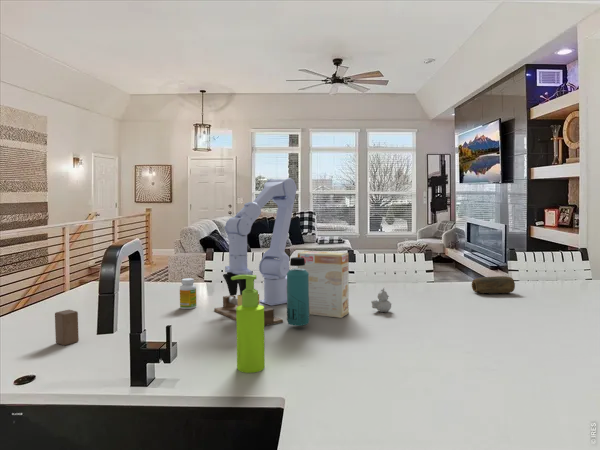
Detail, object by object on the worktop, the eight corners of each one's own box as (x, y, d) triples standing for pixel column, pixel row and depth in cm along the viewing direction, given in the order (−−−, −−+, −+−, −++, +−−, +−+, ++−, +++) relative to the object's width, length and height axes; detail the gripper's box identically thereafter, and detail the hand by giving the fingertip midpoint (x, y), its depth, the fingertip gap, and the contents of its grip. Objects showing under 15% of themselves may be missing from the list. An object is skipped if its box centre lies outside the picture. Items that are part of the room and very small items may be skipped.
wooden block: (63, 346, 108) (62, 314, 107) (55, 343, 110) (54, 312, 109) (79, 341, 111) (78, 311, 111) (70, 339, 113) (69, 309, 113)
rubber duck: (394, 313, 138) (394, 288, 137) (374, 314, 137) (374, 289, 136) (388, 309, 143) (388, 285, 143) (368, 310, 142) (368, 285, 142)
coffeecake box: (349, 313, 138) (349, 252, 137) (341, 318, 132) (341, 254, 131) (306, 308, 145) (306, 250, 144) (297, 313, 138) (296, 252, 137)
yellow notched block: (237, 313, 134) (237, 295, 133) (254, 310, 137) (254, 292, 137) (242, 315, 131) (242, 296, 131) (259, 312, 135) (259, 294, 134)
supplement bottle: (192, 309, 143) (191, 280, 143) (177, 309, 145) (176, 280, 144) (199, 306, 149) (198, 278, 148) (184, 305, 150) (184, 277, 149)
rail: (214, 310, 142) (214, 297, 142) (241, 306, 148) (240, 293, 148) (253, 328, 122) (253, 312, 122) (282, 322, 128) (282, 307, 128)
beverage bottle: (312, 325, 124) (312, 256, 123) (305, 332, 118) (305, 259, 117) (291, 323, 126) (290, 255, 125) (283, 330, 120) (282, 258, 119)
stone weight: (505, 291, 171) (506, 274, 171) (516, 295, 164) (516, 277, 164) (469, 292, 170) (469, 275, 169) (478, 296, 163) (478, 278, 162)
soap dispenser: (233, 363, 96) (231, 273, 95) (264, 362, 96) (263, 272, 95) (231, 373, 90) (229, 277, 89) (264, 372, 90) (263, 277, 89)
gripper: (216, 253, 142) (217, 295, 142) (238, 258, 130) (238, 303, 131) (235, 252, 146) (236, 292, 146) (258, 256, 134) (258, 299, 135)
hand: (238, 297), depth 139 cm, fingers open, 7 cm apart
